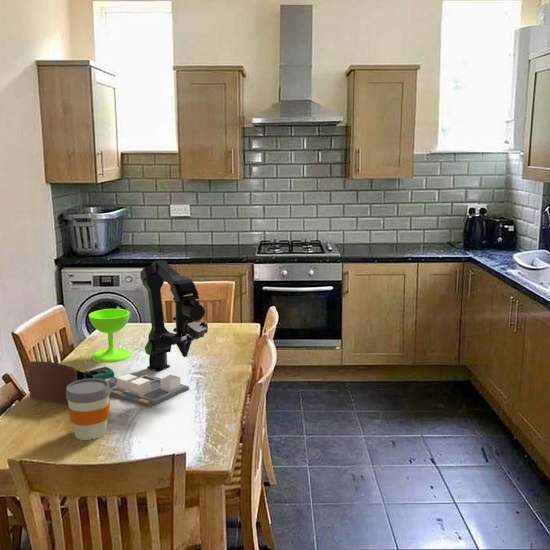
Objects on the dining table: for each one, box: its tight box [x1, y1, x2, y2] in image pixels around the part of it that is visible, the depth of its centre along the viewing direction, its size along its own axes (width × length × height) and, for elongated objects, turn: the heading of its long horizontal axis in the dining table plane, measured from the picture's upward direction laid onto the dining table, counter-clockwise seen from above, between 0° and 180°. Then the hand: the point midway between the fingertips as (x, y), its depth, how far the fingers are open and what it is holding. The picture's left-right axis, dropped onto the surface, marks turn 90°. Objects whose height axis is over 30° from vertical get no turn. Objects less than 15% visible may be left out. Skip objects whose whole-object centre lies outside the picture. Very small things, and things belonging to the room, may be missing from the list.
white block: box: [116, 373, 138, 391], centre depth 214 cm, size 5×5×4 cm
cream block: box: [130, 377, 151, 395], centre depth 210 cm, size 5×5×4 cm
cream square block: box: [160, 374, 181, 392], centre depth 213 cm, size 5×5×4 cm
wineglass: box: [88, 308, 132, 363], centre depth 250 cm, size 16×16×18 cm
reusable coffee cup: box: [66, 378, 111, 441], centre depth 182 cm, size 13×12×15 cm
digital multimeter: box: [84, 366, 115, 380], centre depth 227 cm, size 7×15×3 cm, turn 130°
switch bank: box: [109, 374, 190, 408], centre depth 214 cm, size 19×20×2 cm
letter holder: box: [28, 360, 94, 406], centre depth 209 cm, size 10×20×14 cm, turn 69°
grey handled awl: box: [107, 376, 118, 389], centre depth 215 cm, size 14×3×3 cm
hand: (184, 356), depth 218 cm, fingers closed
